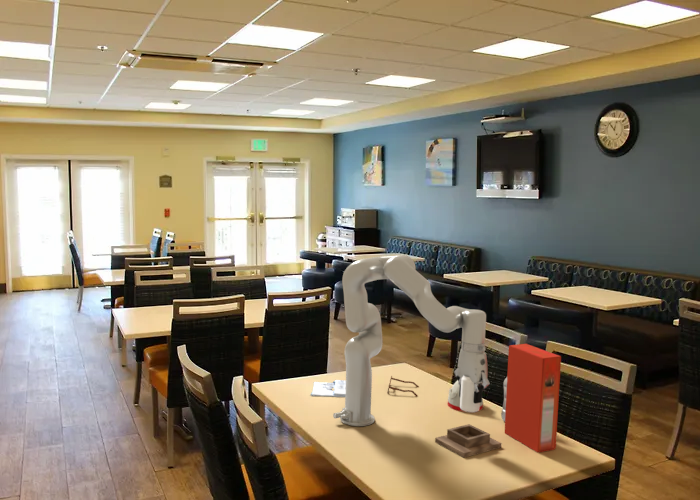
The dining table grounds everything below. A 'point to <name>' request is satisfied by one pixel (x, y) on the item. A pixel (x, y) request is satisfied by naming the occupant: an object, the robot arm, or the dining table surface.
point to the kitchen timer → (456, 398)
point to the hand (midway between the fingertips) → (470, 399)
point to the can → (468, 395)
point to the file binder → (532, 396)
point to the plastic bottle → (504, 400)
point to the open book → (325, 389)
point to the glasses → (400, 389)
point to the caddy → (467, 441)
